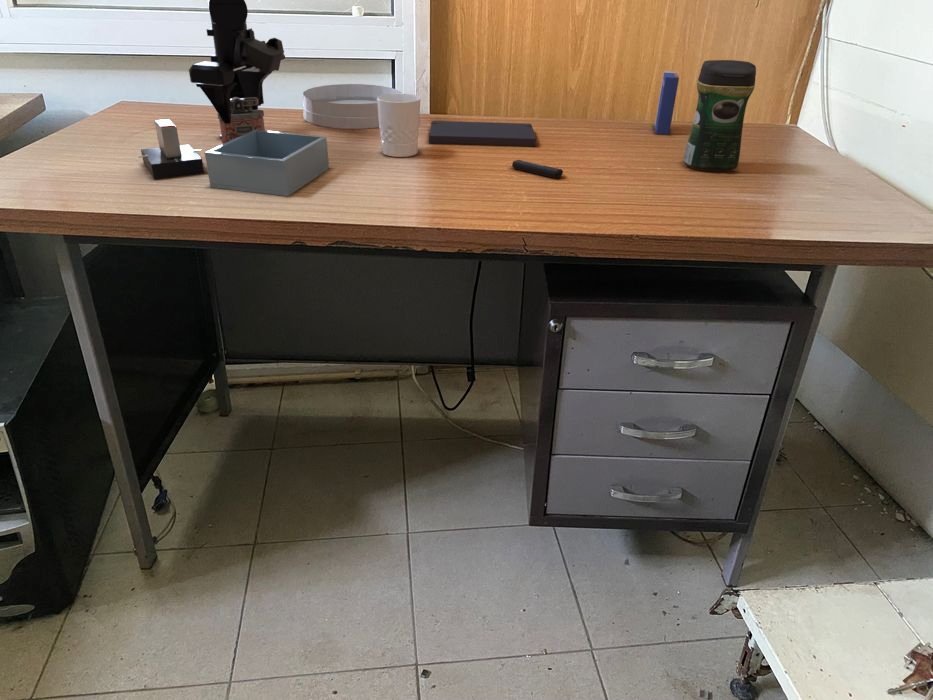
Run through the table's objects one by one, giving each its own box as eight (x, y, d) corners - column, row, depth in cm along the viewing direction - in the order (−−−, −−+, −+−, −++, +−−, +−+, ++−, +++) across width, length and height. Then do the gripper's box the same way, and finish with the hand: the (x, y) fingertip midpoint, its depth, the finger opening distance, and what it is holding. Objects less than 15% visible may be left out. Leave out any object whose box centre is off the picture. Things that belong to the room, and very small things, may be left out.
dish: (363, 102, 170) (362, 80, 167) (424, 119, 157) (424, 95, 154) (284, 114, 156) (281, 91, 154) (342, 134, 143) (341, 109, 140)
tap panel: (136, 164, 121) (133, 148, 120) (197, 157, 126) (194, 142, 125) (147, 180, 114) (143, 164, 113) (211, 172, 119) (208, 157, 117)
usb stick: (564, 176, 123) (565, 167, 122) (556, 180, 121) (557, 171, 120) (518, 166, 127) (518, 157, 126) (510, 169, 125) (511, 160, 125)
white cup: (414, 159, 129) (413, 103, 124) (373, 156, 130) (371, 100, 125) (425, 148, 135) (425, 95, 130) (386, 145, 137) (384, 92, 131)
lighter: (225, 158, 126) (217, 101, 121) (221, 154, 128) (213, 97, 123) (270, 154, 129) (263, 98, 124) (265, 149, 132) (259, 94, 126)
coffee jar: (729, 161, 134) (752, 57, 124) (740, 174, 127) (766, 65, 118) (678, 159, 134) (697, 55, 125) (687, 171, 127) (707, 62, 118)
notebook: (428, 143, 139) (535, 146, 139) (428, 135, 138) (536, 138, 138) (431, 127, 150) (530, 131, 150) (431, 120, 149) (531, 123, 149)
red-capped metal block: (160, 150, 120) (153, 118, 118) (174, 148, 121) (168, 117, 119) (166, 159, 116) (160, 126, 113) (181, 157, 117) (176, 125, 114)
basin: (258, 161, 125) (254, 129, 122) (328, 168, 122) (326, 136, 120) (210, 187, 112) (204, 152, 109) (287, 196, 109) (284, 160, 107)
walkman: (669, 135, 151) (679, 76, 144) (656, 134, 151) (665, 75, 145) (667, 126, 157) (677, 69, 151) (654, 125, 158) (663, 69, 152)
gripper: (243, 31, 108) (256, 134, 116) (297, 19, 123) (305, 110, 132) (179, 27, 110) (196, 128, 118) (240, 15, 126) (251, 105, 134)
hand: (241, 117), depth 125 cm, fingers open, 9 cm apart
